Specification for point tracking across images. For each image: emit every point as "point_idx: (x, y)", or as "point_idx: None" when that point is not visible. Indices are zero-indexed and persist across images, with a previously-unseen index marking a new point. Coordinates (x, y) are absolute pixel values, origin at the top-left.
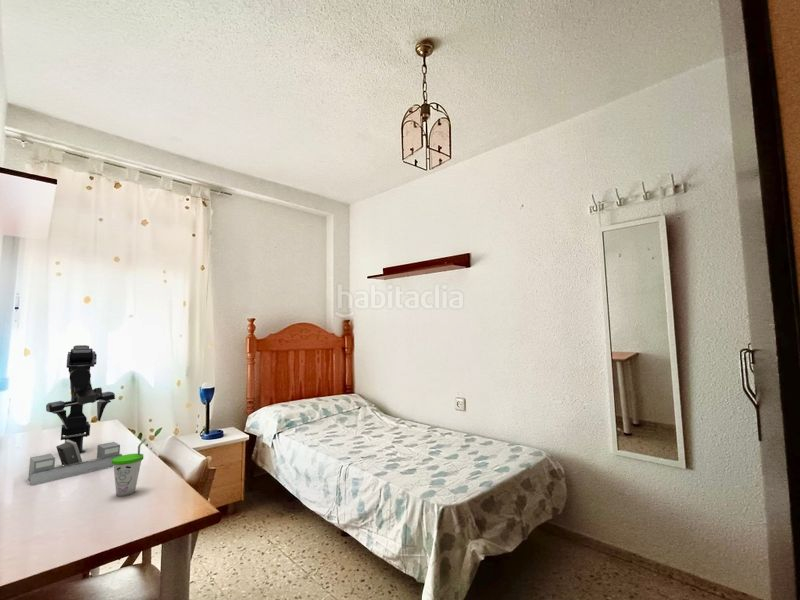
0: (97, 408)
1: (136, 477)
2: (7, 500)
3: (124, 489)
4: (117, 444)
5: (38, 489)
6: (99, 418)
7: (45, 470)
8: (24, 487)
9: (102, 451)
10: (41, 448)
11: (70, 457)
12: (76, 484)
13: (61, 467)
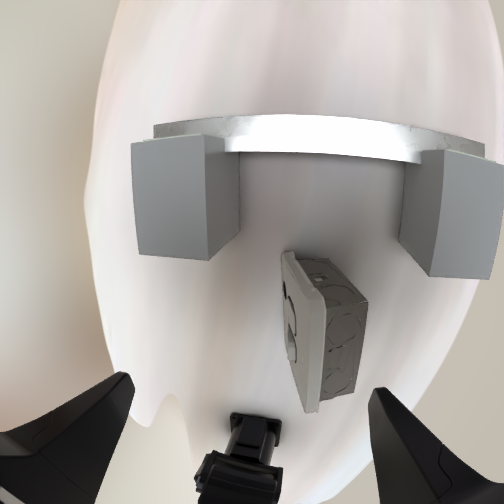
0: (94, 485)
1: None
2: (500, 59)
3: None
4: (136, 164)
5: (449, 72)
6: (111, 383)
7: (449, 147)
8: None
9: (213, 149)
10: (288, 486)
11: (329, 277)
12: (353, 9)
13: (399, 130)
